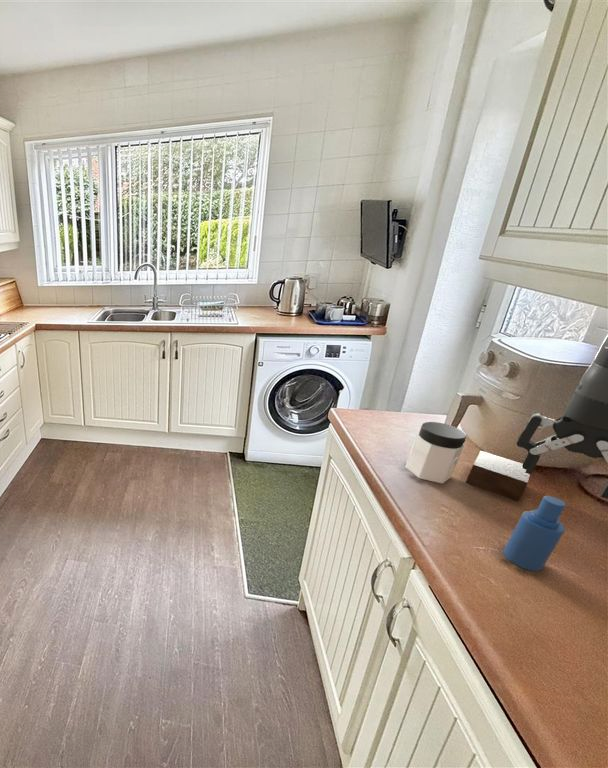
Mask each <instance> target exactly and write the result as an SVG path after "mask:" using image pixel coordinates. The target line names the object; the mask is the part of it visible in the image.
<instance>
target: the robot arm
mask: <svg viewBox="0 0 608 768" xmlns="http://www.w3.org/2000/svg"><path fill="white" fill-rule="evenodd" d="M547 427H552V429H553V431H554V433H555V434H553V435H550V436H548V437H546V438H545V439H541V440H539V441H536V442H534V441H532V437H533V436H534V434H535V433H536V431H537V430H544V429H546V428H547ZM516 446H517V447H519V448H523V449H524V450H526V451H527V454H526V456H525V458H524V460H523V462H522V464H523V465H522V466H523V469H526V472H525V473H528V474H530V475H532V473H533V471H534V469H535V468H536V466H537V464H538V463H539V460H540V458H541V455H542V454H544V453H546V452H552V451H556V450H558V449H561V448H564V449H566V451H568V452H571V453H576V454H583V455H585V456H587V457H589V458H591V459H592V458H593V459H597V458H598V459H602V458H604V461H605V462H606V463H607V465H608V334H607V335H606V337H605V338H604V340H603V342H602V344H601V346H600V347H599V349H598V351H597V353H596V355H595V357H594V359H593V360H592V363H591V364H590V365H589V367H588V368H587V369H586V371H584V373H583V375H582V376H581V379H580V381H579V382H578V384H577V386H576V388H575V390H574V393H573V394H572V396H571V398H570V400H569V402H568V404H567V406H566V408H565V410H564V412H563V414H562V415H561V416H560V417H559V418H556V419H555V418H550V417H547V416H544V415H543V414H542V413H541V412H534V413H532V415H531V417H530V418H529V420H528V421H527V422H526V425H525V426H524V428H523V430H522V432H521V433H520V435H519V437H518V439H517V441H516ZM599 496H600V498H604V499H606V500H607V499H608V479H607V480H606V482H605V484H604V485H603V487H602V489H601V490H600V495H599Z"/></svg>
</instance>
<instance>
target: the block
mask: <svg viewBox="0 0 608 768" xmlns="http://www.w3.org/2000/svg"><path fill="white" fill-rule="evenodd" d="M522 465H523V462H522V463H521V462H519V461H516V460H513V459H509V458H507V457H506V458H505V457H503V456H499V455H496V454H493V453H490V452H486V451H484V450H479V452H478V454H477V456H476V458H475V460H474V461H473V465H472V466H471V469H470V472H469V473H468V476H467V478H466V480H465V483H466V484H469V485H471V486H474V487H477V488H480V489H483V490H486V491H488V492H492V493H494V494H496V495H499V496H502V497H505V498H507V499H511V500H513V501H517V502H519V501H520V499H521V498H522V495H523V494H524V492H525V490H526V488H527V486H528V483H529V480H530V476H531V474H528V473H525V472H526V469H523V466H522Z"/></svg>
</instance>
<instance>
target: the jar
mask: <svg viewBox="0 0 608 768" xmlns="http://www.w3.org/2000/svg"><path fill="white" fill-rule="evenodd" d="M466 438H467V434H466V433H465V432H464V431H463V430H462V429H460V428H458V427H456V426H453V425H450V424H447V423H443V422H437V421H426V422H424V423H422V424H421V427H420V429H419V432H418V434H417V435H416V436H415V438H414V441H413V444H412V447H411V450H410V453H409V456H408V458H407V461H406V464H405V468H406V469H407V470H408V471H409V472H411V474H413V475H414V476H415V477H416V478H418V479H420V480H424V481H429V482H433V483H438V484H442V485H443V484H445V482H447V481H448V480H449V479H451V478H452V476H453V474H454V472H455V468H456V466H457V463H458V461H459V459H460V457H461V455H462V452H463V449H464V447H465V442H466Z"/></svg>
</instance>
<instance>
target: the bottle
mask: <svg viewBox="0 0 608 768" xmlns="http://www.w3.org/2000/svg"><path fill="white" fill-rule="evenodd" d="M566 505H567V503H566V502H565V501H563V500H562V499H560V498H558V497H555V496H551V495H545V496H543V498H542V500H541V501H540V504H539V505H538V507H537V509H532V510H531V511H530V510H526V511H524V512H523V513H522V514H521V516H520V518H519V520H518V521H517V524H516V526H515V527H514V529H513V531H512V533H511V535H510V537H509V539H508V540H507V543H506V544H505V547H504V549H503V550H502V554H503V556H504V557H505V558H506V559H507V560H508V561H509V562H511V563H512V564H514V565H515V566H518V567H520V568H522V569H524V570H527V571H531V572H540V571H542V570H543V569H544V567H545V565H546V563H547V561H548V560H549V558H550V557H551V555H552V553H553V551H554V550H555V548H556V546H557V545H558V543H559V541H560V540H561V538H562V536H563V534H564V533H565V531H566V528H565V525H563V523H562V521H561V520H560V519H559V518H560V516H561V515H562V513H563V511H564V510H565V507H566Z"/></svg>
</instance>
